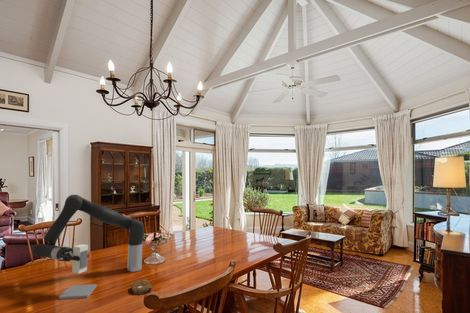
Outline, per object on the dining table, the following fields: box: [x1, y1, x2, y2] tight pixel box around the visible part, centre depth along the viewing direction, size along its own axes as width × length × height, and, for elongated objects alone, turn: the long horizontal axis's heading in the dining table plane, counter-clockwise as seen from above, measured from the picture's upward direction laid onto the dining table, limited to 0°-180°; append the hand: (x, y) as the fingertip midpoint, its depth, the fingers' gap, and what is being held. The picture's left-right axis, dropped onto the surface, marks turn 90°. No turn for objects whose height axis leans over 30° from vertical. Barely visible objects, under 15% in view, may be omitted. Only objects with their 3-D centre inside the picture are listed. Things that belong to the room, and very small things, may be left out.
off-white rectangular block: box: [71, 243, 89, 274], centre depth 147 cm, size 5×5×14 cm
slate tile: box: [58, 283, 98, 300], centre depth 147 cm, size 14×14×1 cm
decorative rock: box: [130, 278, 153, 296], centre depth 152 cm, size 11×4×15 cm
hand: (83, 257), depth 147 cm, fingers closed on off-white rectangular block, 5 cm apart
